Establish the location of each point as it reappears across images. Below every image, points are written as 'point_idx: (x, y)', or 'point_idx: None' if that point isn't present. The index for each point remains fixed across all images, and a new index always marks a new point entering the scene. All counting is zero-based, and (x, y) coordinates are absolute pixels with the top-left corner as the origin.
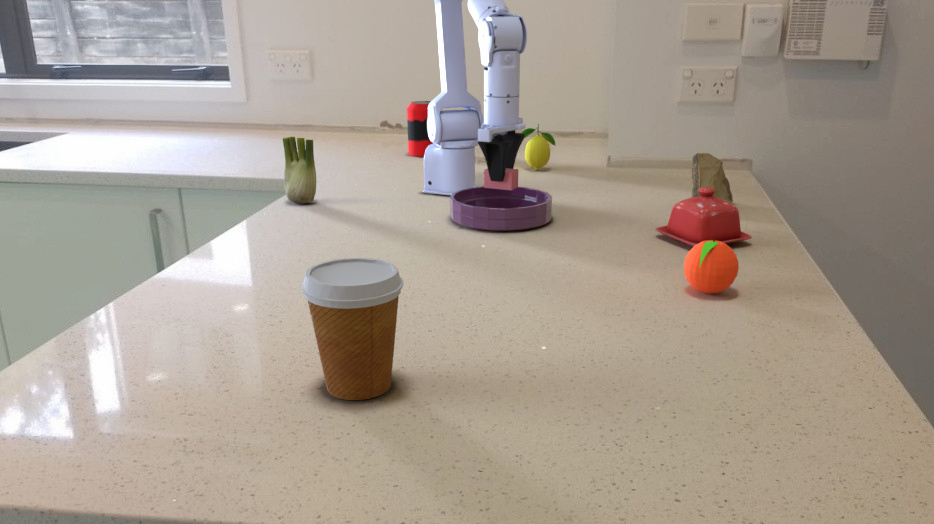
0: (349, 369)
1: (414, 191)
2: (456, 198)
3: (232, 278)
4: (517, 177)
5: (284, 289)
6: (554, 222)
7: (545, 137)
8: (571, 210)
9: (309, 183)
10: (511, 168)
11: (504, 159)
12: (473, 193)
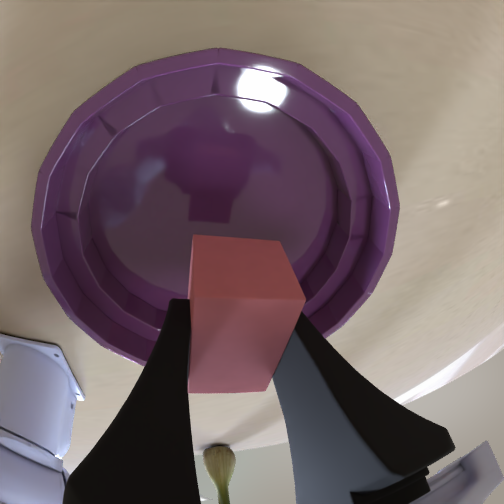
0: None
1: (82, 403)
2: None
3: (461, 360)
4: (206, 265)
5: (494, 322)
6: (198, 47)
7: None
8: (25, 56)
9: (227, 466)
10: (189, 330)
11: (364, 380)
12: (141, 345)
